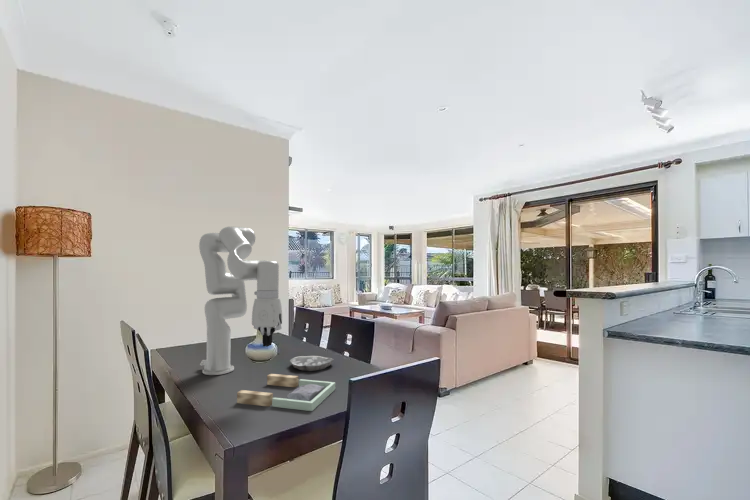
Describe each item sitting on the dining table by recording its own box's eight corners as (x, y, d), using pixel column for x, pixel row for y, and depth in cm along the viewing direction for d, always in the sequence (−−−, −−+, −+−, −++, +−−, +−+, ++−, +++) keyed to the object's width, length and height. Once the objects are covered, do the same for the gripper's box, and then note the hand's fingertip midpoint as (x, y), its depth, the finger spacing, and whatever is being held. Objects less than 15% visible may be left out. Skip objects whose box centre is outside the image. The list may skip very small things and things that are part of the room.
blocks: (237, 402, 121) (237, 392, 121) (270, 382, 141) (270, 373, 141) (268, 406, 118) (268, 395, 118) (298, 385, 138) (298, 376, 138)
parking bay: (272, 406, 118) (272, 398, 118) (300, 385, 137) (300, 379, 137) (312, 411, 114) (312, 403, 114) (335, 389, 133) (335, 382, 133)
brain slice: (282, 372, 155) (282, 365, 155) (297, 361, 172) (297, 355, 172) (326, 374, 152) (326, 367, 152) (336, 363, 169) (336, 356, 169)
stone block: (284, 409, 120) (310, 407, 117) (282, 394, 121) (308, 391, 118) (302, 397, 131) (327, 395, 128) (300, 384, 132) (325, 381, 129)
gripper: (243, 295, 129) (242, 346, 129) (280, 296, 125) (280, 349, 125) (255, 293, 136) (255, 342, 136) (291, 294, 132) (291, 344, 132)
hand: (267, 345), depth 130 cm, fingers closed
